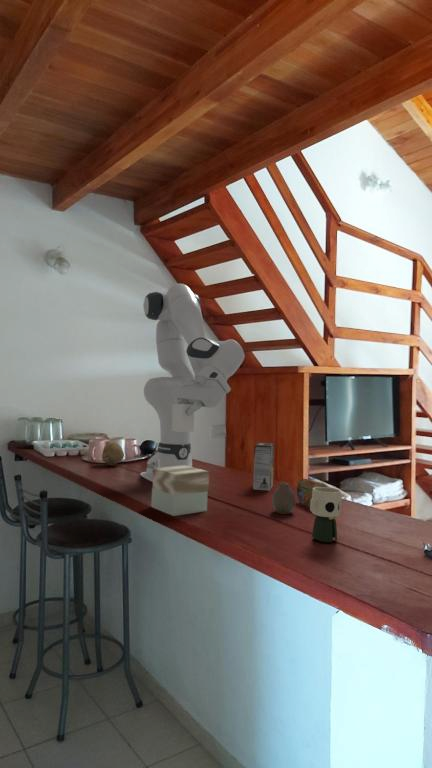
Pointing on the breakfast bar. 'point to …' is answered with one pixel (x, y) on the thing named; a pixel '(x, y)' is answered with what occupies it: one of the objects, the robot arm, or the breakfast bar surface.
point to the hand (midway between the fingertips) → (181, 413)
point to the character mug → (325, 512)
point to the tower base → (179, 502)
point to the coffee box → (263, 466)
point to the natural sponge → (112, 453)
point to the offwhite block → (182, 418)
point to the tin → (307, 490)
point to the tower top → (180, 480)
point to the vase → (283, 499)
